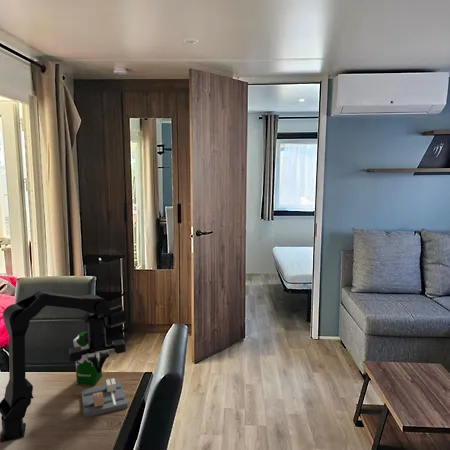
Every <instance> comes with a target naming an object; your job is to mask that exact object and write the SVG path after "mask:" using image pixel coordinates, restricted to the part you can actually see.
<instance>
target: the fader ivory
mask: <svg viewBox="0 0 450 450" xmlns="http://www.w3.org/2000/svg"><path fill="white" fill-rule="evenodd" d="M116 383H117V382H116V380H115V378H108V379H106V380H105V385H106V388H107V392H111V391H115V390H116Z"/></svg>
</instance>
